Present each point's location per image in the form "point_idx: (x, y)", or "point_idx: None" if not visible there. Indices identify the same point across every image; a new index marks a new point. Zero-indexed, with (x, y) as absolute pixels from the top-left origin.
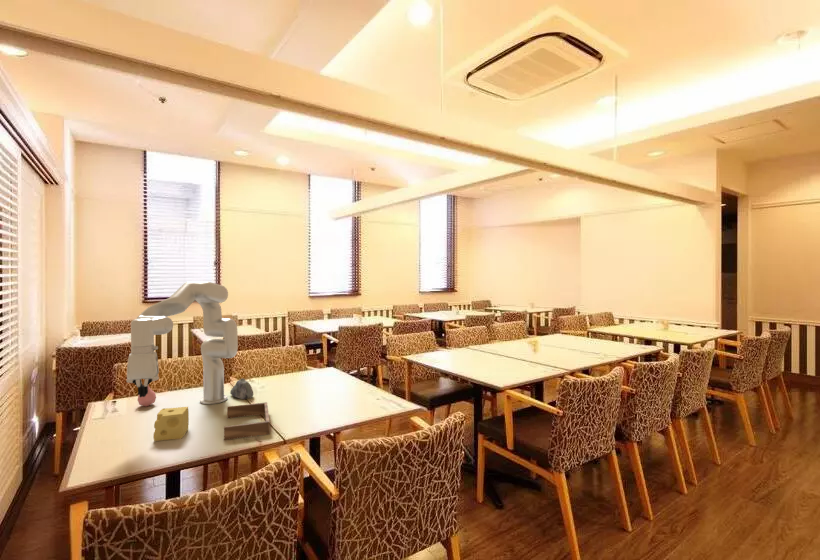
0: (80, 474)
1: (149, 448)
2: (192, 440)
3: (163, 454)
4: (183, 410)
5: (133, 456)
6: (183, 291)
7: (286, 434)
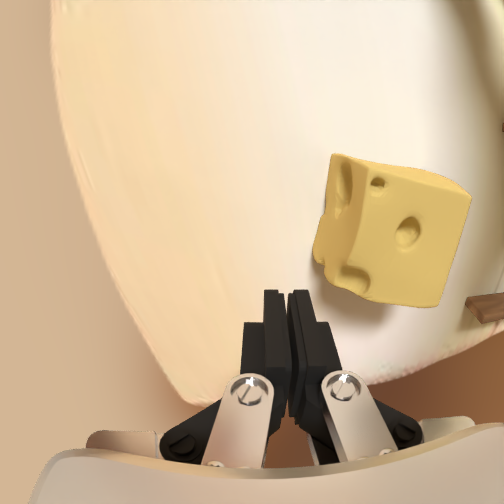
0: (181, 375)
1: None
2: None
3: (341, 346)
4: (451, 253)
5: None
6: None
7: None
